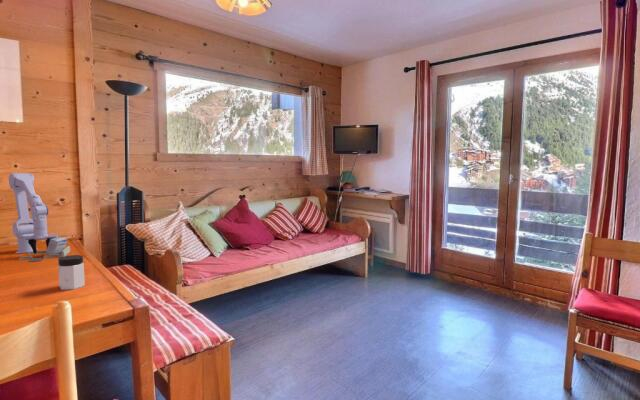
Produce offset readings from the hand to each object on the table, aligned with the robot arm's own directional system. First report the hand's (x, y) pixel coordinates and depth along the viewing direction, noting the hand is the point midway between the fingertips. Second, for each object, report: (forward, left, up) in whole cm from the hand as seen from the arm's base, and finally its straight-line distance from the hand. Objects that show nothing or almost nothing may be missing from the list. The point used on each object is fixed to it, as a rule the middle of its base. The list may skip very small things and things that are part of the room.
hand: (41, 252), depth 195 cm
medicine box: (0, +6, -1) cm, 6 cm away
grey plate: (0, +2, -2) cm, 3 cm away
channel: (0, +2, -2) cm, 3 cm away
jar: (+66, +25, -2) cm, 71 cm away
